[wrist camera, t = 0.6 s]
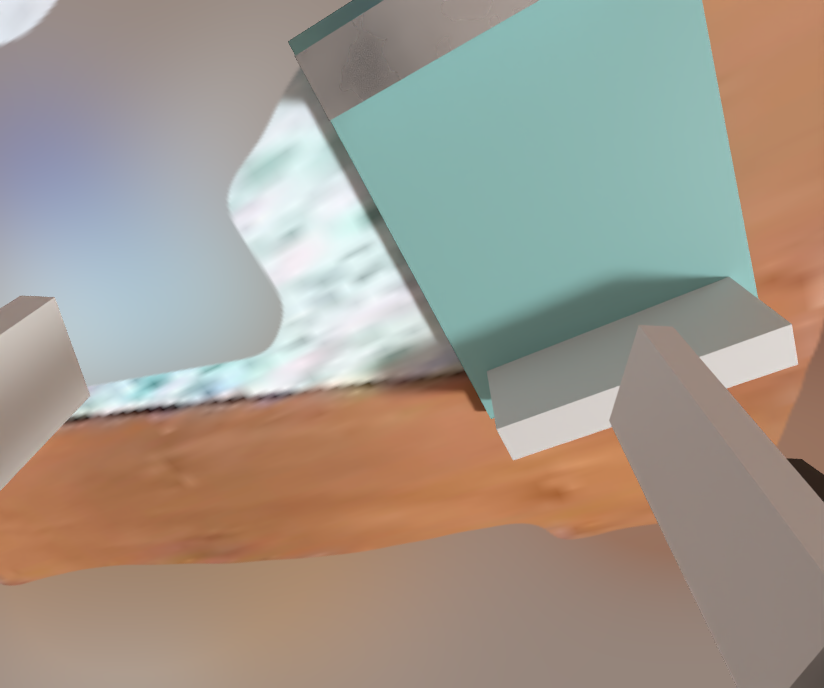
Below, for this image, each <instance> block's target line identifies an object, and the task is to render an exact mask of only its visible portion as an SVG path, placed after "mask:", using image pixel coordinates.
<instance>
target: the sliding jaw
mask: <svg viewBox="0 0 824 688" xmlns="http://www.w3.org/2000/svg"><path fill="white" fill-rule="evenodd" d="M537 1H539V0H383V1H382V2H380V3H379V4H377V5H375V6H374V7H372V8H371V9H369V10H367V11H366V12H364V13H363V14H361V15H359V16H358V17H356V18H355V19H353V20H352V21H350V22H348V23H347V24H345V25H344V26H342V27H340V28H339V29H337V30H336V31H334V32H332V33H331V34H329V35H328V36H326V37H324V38H323V39H321V40H320V41H318V42H316V43H315V44H313V45H312V46H310V47H308V48H307V49H305V50H304V51H302V52H300V53H299V54H297V55H296V56H295V58H296V60H297V61H298V63H299V65H300V67H301V69H302V71H303V73H304V74H305V76H306V78H307V80H308V82H309V84H310V86H311V87H312V89H313V91H314V93H315V95H316V97H317V99H318V100H319V102H320V104H321V106H322V108H323V110H324V112H325V113H326V115H327V117H328V119H329V121H330V120H332V119H334V118H335V117H337V116H339V115H341V114H342V113H344V112H346V111H348V110H349V109H351V108H353V107H355V106H356V105H358V104H360V103H362V102H363V101H365V100H367V99H368V98H370V97H372V96H374V95H375V94H377V93H379V92H381V91H382V90H384V89H386V88H388V87H389V86H391V85H393V84H395V83H396V82H398V81H400V80H402V79H403V78H405V77H407V76H408V75H410V74H412V73H414V72H415V71H417V70H419V69H421V68H422V67H424V66H426V65H428V64H429V63H431V62H433V61H435V60H436V59H438V58H440V57H442V56H443V55H445V54H447V53H449V52H450V51H452V50H454V49H455V48H457V47H459V46H461V45H462V44H464V43H466V42H468V41H469V40H471V39H473V38H475V37H476V36H478V35H480V34H482V33H483V32H485V31H487V30H489V29H490V28H492V27H494V26H495V25H497V24H499V23H501V22H502V21H504V20H506V19H508V18H509V17H511V16H513V15H515V14H516V13H518V12H520V11H522V10H523V9H525V8H527V7H529V6H530V5H532V4H534V3H536V2H537Z"/></svg>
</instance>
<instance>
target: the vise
mask: <svg viewBox="0 0 824 688" xmlns="http://www.w3.org/2000/svg"><path fill="white" fill-rule="evenodd" d="M382 1H383V0H352V1H351V2H349V3H348V4H346V5H345V6H343V7H341V8H340V9H338V10H337V11H335V12H334V13H332V14H330V15H329V16H327V17H326V18H324V19H323V20H321V21H319V22H318V23H316V24H315V25H313V26H312V27H310V28H308V29H307V30H305V31H304V32H302V33H301V34H299V35H297V36H296V37H294V38H293V39H291V40H290V41H288V42H289V45H290V46H291V48H292V50H293V52H294V54H295V56H296V55H297V54H299V53H300V52H302V51H304V50H305V49H307V48H308V47H310V46H312V45H313V44H315V43H316V42H318V41H320V40H321V39H323V38H324V37H326V36H328V35H329V34H331V33H332V32H334V31H336V30H337V29H339V28H340V27H342V26H344V25H345V24H347V23H348V22H350V21H352V20H353V19H355V18H356V17H358V16H359V15H361V14H363V13H364V12H366V11H367V10H369V9H371V8H372V7H374V6H375V5H377V4H379V3H380V2H382ZM330 121H331V123H332V125H333V126H334V128H335V130H336V132H337V134H338V136H339V138H340V139H341V141H342V143H343V145H344V147H345V149H346V151H347V152H348V154H349V156H350V158H351V160H352V162H353V164H354V165H355V167H356V169H357V171H358V173H359V175H360V177H361V178H362V180H363V182H364V184H365V186H366V188H367V190H368V191H369V193H370V195H371V197H372V199H373V201H374V203H375V204H376V206H377V208H378V210H379V212H380V214H381V216H382V217H383V219H384V221H385V223H386V225H387V227H388V229H389V230H390V232H391V234H392V236H393V238H394V240H395V242H396V243H397V245H398V247H399V249H400V251H401V253H402V255H403V257H404V258H405V260H406V262H407V264H408V266H409V268H410V270H411V271H412V273H413V275H414V277H415V279H416V281H417V283H418V284H419V286H420V288H421V290H422V292H423V294H424V296H425V297H426V299H427V301H428V303H429V305H430V307H431V309H432V310H433V312H434V314H435V316H436V318H437V320H438V322H439V323H440V325H441V327H442V329H443V331H444V333H445V335H446V336H447V338H448V340H449V342H450V344H451V346H452V348H453V349H454V351H455V353H456V355H457V357H458V359H459V361H460V362H461V364H462V366H463V368H464V370H465V372H466V374H467V375H468V377H469V379H470V381H471V383H472V385H473V387H474V388H475V390H476V392H477V394H478V396H479V398H480V400H481V401H482V403H483V405H484V407H485V409H486V411H487V413H488V414H489V416H490V418H491V419H492V418H495V423H496V429H497V431H498V433H499V435H500V437H501V439H502V440H503V442H504V444H505V446H506V448H507V450H508V452H509V453H510V455H511V457H512V459H513V460H516V459H518V458H521V457H524V456H527V455H530V454H533V453H536V452H539V451H542V450H545V449H548V448H551V447H554V446H557V445H560V444H563V443H566V442H569V441H572V440H575V439H578V438H581V437H584V436H587V435H590V434H593V433H596V432H599V431H602V430H605V429H607V428H610V427H612V426H611V424H610V421H609V419H610V416H611V413H612V410H613V406H614V403H615V400H616V397H617V394H618V390H619V387H620V384H621V381H622V377H623V374H624V371H625V368H626V365H627V361H628V358H629V355H630V352H631V348H632V345H633V342H634V339H635V336H636V332H637V329H638V326H639V325H649V326H670V327H674V328H675V330H676V331H677V332H678V333H679V334H680V335H681V337H682V338H683V339H684V340H685V341H686V342H687V344H688V345H689V346H690V347H691V348H692V349H693V351H694V352H695V353H696V354H697V355H698V356H699V358H700V359H701V360H702V361H703V362H704V363H705V365H706V366H707V367H708V368H709V369H710V370H711V372H712V373H713V374H714V375H715V376H716V377H717V379H718V380H719V381H720V382H721V383H722V384H723V385H724V387H725V388H729V387H732V386H735V385H738V384H741V383H744V382H747V381H750V380H753V379H756V378H759V377H762V376H765V375H768V374H771V373H774V372H777V371H780V370H782V369H785V368H788V367H791V366H794V365H797V364H798V361H797V355H796V348H795V342H794V336H793V329H792V324H791V323H790V322H788V321H787V320H786V319H784V318H783V317H782V316H780V315H779V314H778V313H776V312H775V311H774V310H772V309H771V308H770V307H768V306H767V305H766V304H764V303H763V302H762V301H761V300H759V299H758V296H757V290H756V285H755V280H754V274H753V269H752V264H751V258H750V253H749V248H748V243H747V237H746V232H745V227H744V221H743V216H742V211H741V205H740V200H739V195H738V189H737V184H736V179H735V174H734V168H733V163H732V158H731V152H730V147H729V142H728V136H727V131H726V126H725V120H724V115H723V110H722V105H721V99H720V94H719V89H718V83H717V78H716V73H715V67H714V62H713V57H712V51H711V46H710V41H709V36H708V30H707V25H706V20H705V14H704V9H703V4H702V0H539V1H537V2H536V3H534V4H532V5H530V6H529V7H527V8H525V9H523V10H522V11H520V12H518V13H516V14H515V15H513V16H511V17H509V18H508V19H506V20H504V21H502V22H501V23H499V24H497V25H495V26H494V27H492V28H490V29H489V30H487V31H485V32H483V33H482V34H480V35H478V36H476V37H475V38H473V39H471V40H469V41H468V42H466V43H464V44H462V45H461V46H459V47H457V48H455V49H454V50H452V51H450V52H449V53H447V54H445V55H443V56H442V57H440V58H438V59H436V60H435V61H433V62H431V63H429V64H428V65H426V66H424V67H422V68H421V69H419V70H417V71H415V72H414V73H412V74H410V75H408V76H407V77H405V78H403V79H402V80H400V81H398V82H396V83H395V84H393V85H391V86H389V87H388V88H386V89H384V90H382V91H381V92H379V93H377V94H375V95H374V96H372V97H370V98H368V99H367V100H365V101H363V102H362V103H360V104H358V105H356V106H355V107H353V108H351V109H349V110H348V111H346V112H344V113H342V114H341V115H339V116H337V117H335V118H334V119H332V120H330Z"/></svg>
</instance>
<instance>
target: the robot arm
mask: <svg viewBox="0 0 824 688" xmlns="http://www.w3.org/2000/svg"><path fill="white" fill-rule="evenodd" d="M89 397H90V394H89V391H88V388H87V385H86V383H85V380H84V377H83V375H82V372H81V369H80V366H79V363H78V361H77V358H76V355H75V352H74V350H73V347H72V344H71V341H70V338H69V336H68V333H67V330H66V327H65V324H64V322H63V319H62V316H61V313H60V311H59V308H58V305H57V303H56V299H55V297H39V296H19V297H18V298H16V299H15V300H13V301H11V302H10V303H9V304H7V305H5V306H3V307H2V308H0V490H1V489H2V488H3V487H4V486H5V485H6V484H7V483H8V482H9V481H10V480H11V479H12V478H13V477H14V476H15V475H16V474H17V472H18V471H19V470H20V469H21V468H22V467H23V466H24V465H25V464H26V463H27V462H28V461H29V460H30V459H31V458H32V457H33V456H34V455H35V453H36V452H37V451H38V450H39V449H40V448H41V447H42V446H43V445H44V444H45V443H46V442H47V441H48V440H49V439H50V438H51V437H52V436H53V435H54V433H55V432H56V431H57V430H58V429H59V428H60V427H61V426H62V425H63V424H64V423H65V422H66V421H67V420H68V419H69V418H70V417H71V416H72V414H73V413H74V412H75V411H76V410H77V409H78V408H79V407H80V406H81V405H82V404H83V403H84V402H85V401H86V400H87V399H88V398H89ZM609 421H610V424H611V426H612V428H613V430H614V432H615V434H616V436H617V438H618V440H619V442H620V444H621V447H622V449H623V451H624V453H625V455H626V457H627V459H628V461H629V463H630V465H631V467H632V470H633V472H634V474H635V476H636V478H637V480H638V482H639V484H640V486H641V488H642V490H643V492H644V495H645V497H646V499H647V501H648V503H649V505H650V507H651V509H652V511H653V513H654V515H655V518H656V520H657V522H658V524H659V526H660V528H661V530H662V532H663V534H664V536H665V538H666V541H667V543H668V545H669V547H670V549H671V551H672V553H673V555H674V557H675V559H676V561H677V564H678V566H679V568H680V570H681V572H682V574H683V576H684V578H685V580H686V582H687V584H688V587H689V589H690V591H691V592H692V595H693V597H694V599H695V601H696V603H697V605H698V607H699V610H700V612H701V614H702V616H703V618H704V620H705V622H706V624H707V626H708V628H709V630H710V633H711V634H712V637H713V639H714V641H715V643H716V645H717V647H718V649H719V651H720V653H721V655H722V658H723V660H724V662H725V664H726V666H727V668H728V670H729V672H730V674H731V676H732V679H733V680H734V683H735V685H736V687H737V688H824V475H823V474H822V473H820V472H819V471H818V470H816V469H815V468H813V467H812V466H811V465H809V464H808V463H806V462H805V461H804V460H802V459H787V458H785V457H784V455H783V454H782V453H781V452H780V451H779V450H778V448H777V447H776V446H775V445H774V444H773V443H772V441H771V440H770V439H769V438H768V437H767V436H766V434H765V433H764V432H763V431H762V430H761V429H760V427H759V426H758V425H757V424H756V423H755V422H754V420H753V419H752V418H751V417H750V416H749V415H748V413H747V412H746V411H745V410H744V409H743V408H742V406H741V405H740V404H739V403H738V402H737V401H736V399H735V398H734V397H733V396H732V395H731V394H730V392H729V391H728V390H727V389H726V388H725V387H724V385H723V384H722V383H721V382H720V381H719V380H718V379H717V377H716V376H715V375H714V374H713V373H712V372H711V370H710V369H709V368H708V367H707V366H706V365H705V363H704V362H703V361H702V360H701V359H700V358H699V356H698V355H697V354H696V353H695V352H694V351H693V349H692V348H691V347H690V346H689V345H688V344H687V342H686V341H685V340H684V339H683V338H682V337H681V335H680V334H679V333H678V332H677V331H676V330H675V328H674V327H670V326H649V325H639V326H638V329H637V332H636V336H635V339H634V342H633V345H632V348H631V352H630V355H629V358H628V361H627V365H626V368H625V371H624V374H623V377H622V381H621V384H620V387H619V390H618V394H617V397H616V400H615V403H614V406H613V410H612V413H611V416H610V419H609Z"/></svg>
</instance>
